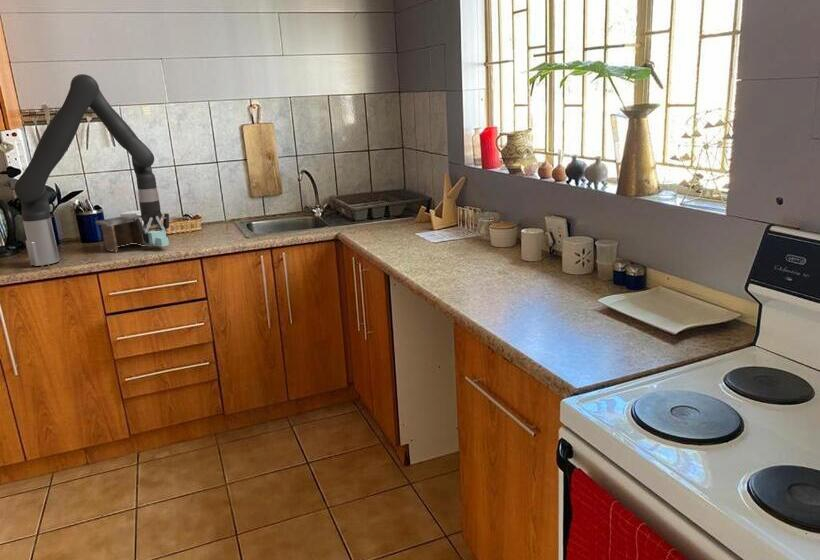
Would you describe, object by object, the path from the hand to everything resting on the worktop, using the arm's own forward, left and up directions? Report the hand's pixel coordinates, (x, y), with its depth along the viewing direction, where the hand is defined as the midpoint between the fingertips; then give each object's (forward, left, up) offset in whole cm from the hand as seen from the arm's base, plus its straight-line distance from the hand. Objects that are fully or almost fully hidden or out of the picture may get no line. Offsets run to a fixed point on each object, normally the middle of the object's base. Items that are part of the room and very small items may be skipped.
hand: (155, 241), depth 265 cm
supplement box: (+3, +23, -3) cm, 23 cm away
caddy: (0, -2, -1) cm, 2 cm away
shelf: (-7, +13, -3) cm, 15 cm away
